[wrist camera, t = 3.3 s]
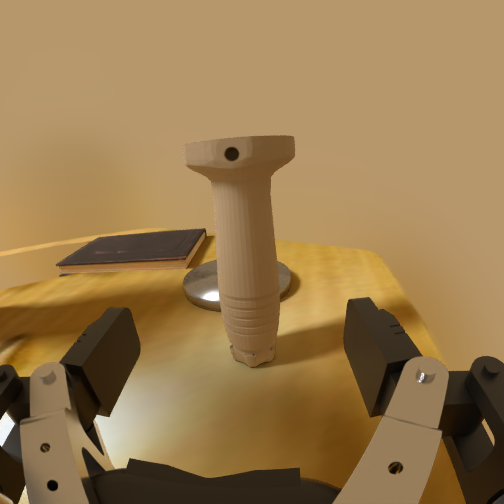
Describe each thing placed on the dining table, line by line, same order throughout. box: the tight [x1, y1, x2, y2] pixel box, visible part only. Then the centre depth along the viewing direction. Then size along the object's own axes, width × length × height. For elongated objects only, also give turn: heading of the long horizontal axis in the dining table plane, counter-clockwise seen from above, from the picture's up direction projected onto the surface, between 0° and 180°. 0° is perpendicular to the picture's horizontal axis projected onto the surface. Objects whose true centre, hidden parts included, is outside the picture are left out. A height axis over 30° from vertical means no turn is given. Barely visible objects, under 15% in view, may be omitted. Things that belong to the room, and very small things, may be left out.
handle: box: [183, 136, 295, 367], centre depth 18 cm, size 5×6×15 cm
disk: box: [183, 260, 291, 312], centre depth 32 cm, size 12×12×1 cm
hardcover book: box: [56, 228, 207, 277], centre depth 46 cm, size 16×23×2 cm
